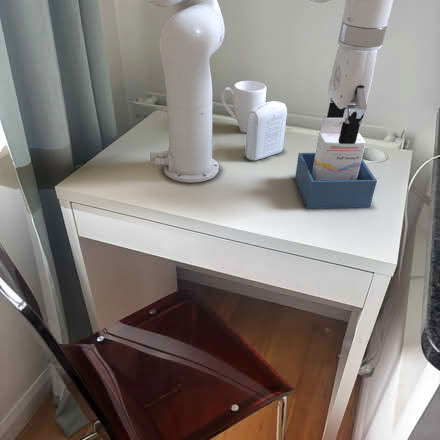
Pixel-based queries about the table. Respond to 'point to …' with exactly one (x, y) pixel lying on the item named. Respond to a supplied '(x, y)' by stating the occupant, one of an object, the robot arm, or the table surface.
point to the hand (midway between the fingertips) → (340, 132)
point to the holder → (334, 187)
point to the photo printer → (265, 130)
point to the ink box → (336, 154)
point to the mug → (245, 100)
